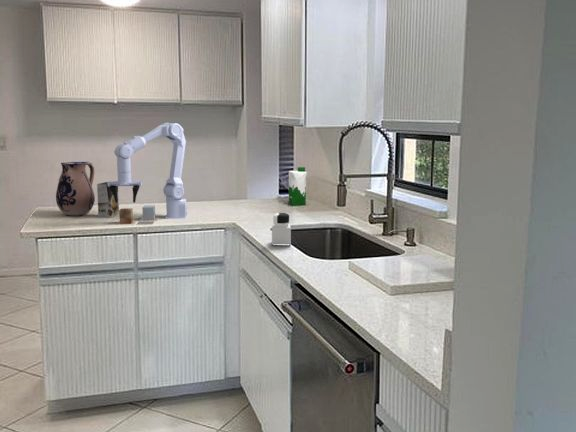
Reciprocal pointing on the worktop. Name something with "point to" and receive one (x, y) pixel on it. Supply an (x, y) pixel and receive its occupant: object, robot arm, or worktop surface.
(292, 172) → the milk carton
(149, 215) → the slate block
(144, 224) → the rubber pad
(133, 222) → the code tile
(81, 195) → the ceramic pitcher
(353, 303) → the worktop surface
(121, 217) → the walnut block
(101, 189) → the coffee box
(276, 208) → the worktop surface
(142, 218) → the code tile
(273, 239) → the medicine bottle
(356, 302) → the worktop surface
